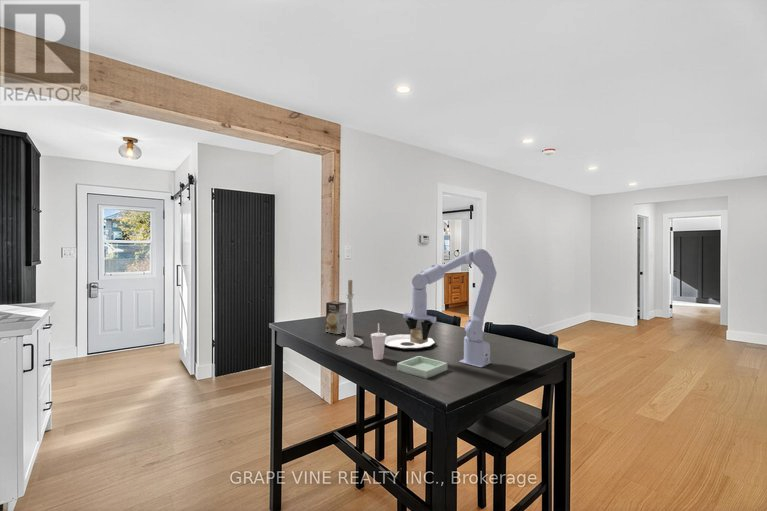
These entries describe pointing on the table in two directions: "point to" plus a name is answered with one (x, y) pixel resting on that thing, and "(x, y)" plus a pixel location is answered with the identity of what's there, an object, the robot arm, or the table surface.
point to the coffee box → (336, 317)
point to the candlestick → (349, 324)
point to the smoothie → (378, 344)
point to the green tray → (422, 367)
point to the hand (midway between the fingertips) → (419, 338)
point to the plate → (396, 341)
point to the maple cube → (417, 336)
